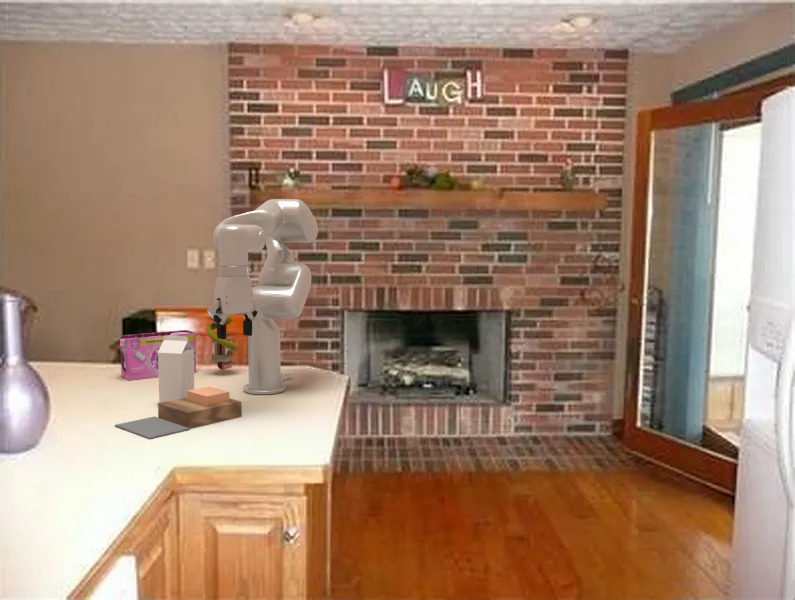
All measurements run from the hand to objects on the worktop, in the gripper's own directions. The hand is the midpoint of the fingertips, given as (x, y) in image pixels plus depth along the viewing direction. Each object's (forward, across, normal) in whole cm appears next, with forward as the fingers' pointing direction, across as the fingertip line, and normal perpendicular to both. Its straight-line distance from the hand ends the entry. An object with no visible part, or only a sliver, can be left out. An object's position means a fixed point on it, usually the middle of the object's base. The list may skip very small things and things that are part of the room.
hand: (234, 336), depth 207 cm
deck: (+20, +11, 0) cm, 23 cm away
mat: (+20, +25, 0) cm, 32 cm away
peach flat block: (+16, +9, 0) cm, 18 cm away
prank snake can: (+20, -25, -41) cm, 52 cm away
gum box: (+20, -10, -55) cm, 59 cm away
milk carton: (+20, +8, -17) cm, 27 cm away
